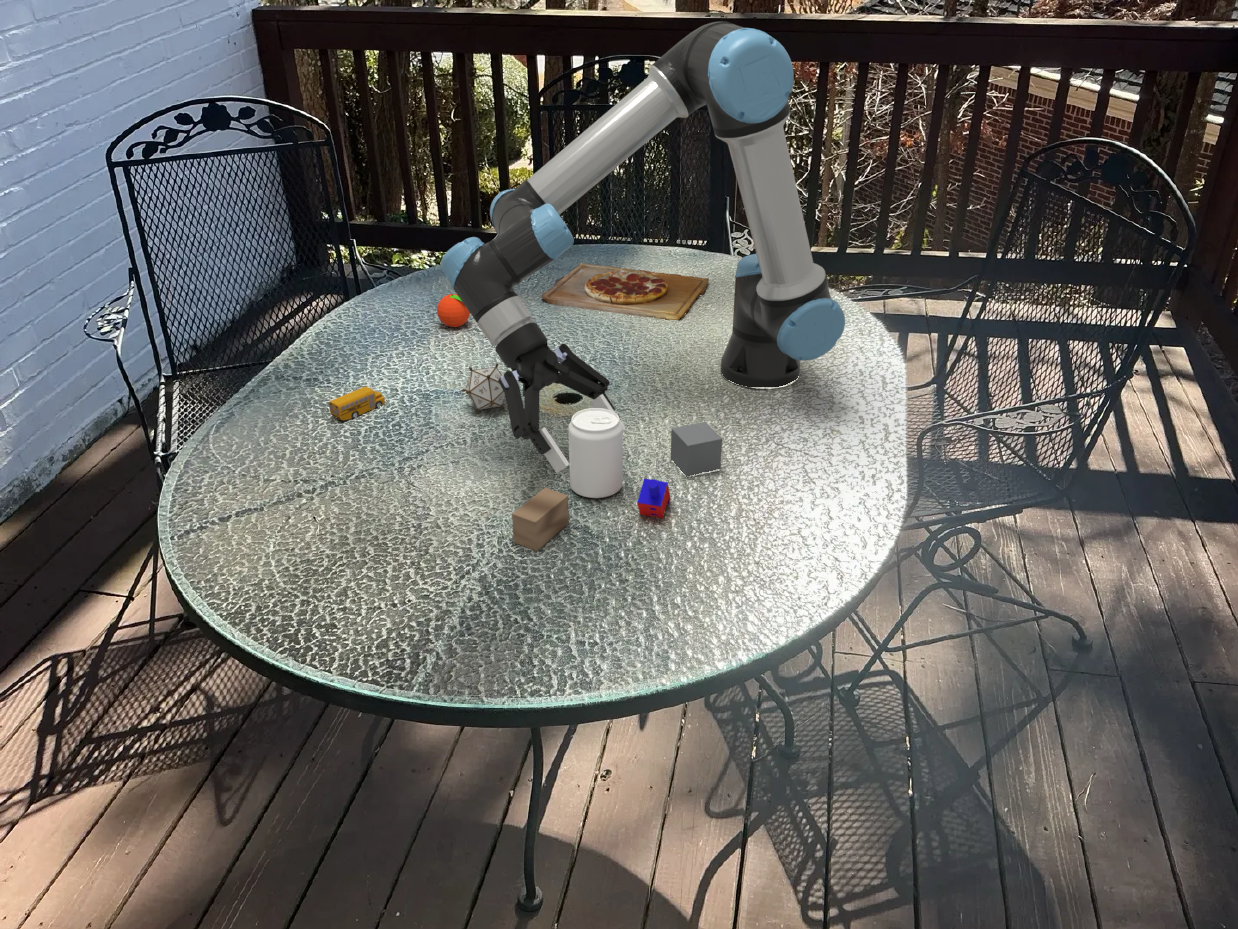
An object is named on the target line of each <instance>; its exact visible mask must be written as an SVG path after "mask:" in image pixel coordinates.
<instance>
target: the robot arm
mask: <svg viewBox="0 0 1238 929" xmlns="http://www.w3.org/2000/svg"><path fill="white" fill-rule="evenodd" d="M793 67H794V66H793V63H792V60H791V57H790V55H789V54H788V52H787V50H786V49H785V46H783V45H782V44H781V43H780V42H779V41H778V40H777V39H775V38H774V37H772V36H771V35H769V34H768V33H767V32H765V31H762V30H760V29H756V28H750V27H743V26H739V25H737V24H734V23H732V22H730V21H729V22H728V21H714V22H709V23H707V24H704V25H701V26H700V27H698V28H697V29H695V30H693V31H692V32H689V34H687V35H686V36H685V37H683V38H682V39H680V40H679V41H678V42H677V43H676V44H675V45H674V46H672V47H671V48H670V49H668V50H667V51H666V53H664V54H663V55H662V56H661V57H659V58H658V59H656V60H655V62H653V63H652V64H651V65H650V66H649V69H648V76H647V77H646V78H645V79H644V80H643V81H641V83H639V84H638V85H636V87H634V88H633V89H632V90H631V91H630V92H629V93H627V94H626V95H625V96H624V97H623V98H622V99H620V101H618V102H617V103H616V104H615V105H614V106H612V107H611V108H610V109H609V110H607V111H606V112H605V113H604V114H602V116H601V117H600V118H597V120H596V121H594V122H593V124H591V125H590V126H588V128H586V129H585V130H583V132H582V133H580V134H579V135H578V136H577V137H576V138H575V139H574V140H572V141H571V142H570V143H569V144H568V145H566V146H565V147H564V148H563V149H562V150H561V151H559V152H558V153H557V154H556V155H554V156H553V157H552V158H551V159H550V160H549V161H548V162H546V163H545V164H544V165H543V166H542V167H540V169H538V170H537V171H536V172H535V173H533V175H531V176H530V177H529V178H528V179H526V180H525V181H524V182H522V183H521V184H520V185H518V186H517V187H516V188H512V189H506V190H502V191H500V192H499V193H498V194H497V195H495V197H494V198H493V200H492V201H491V204H490V208H489V216H490V219H491V220H490V221H491V222H492V227H493V228H494V231H495V233H496V234H497V237H495V238H494V239H491V240H490V241H488V242H486V243H485V242H483V241H482V240H481V239H480V238H479V237H476V236H472V237H468V238H465V239H464V240H462V241H461V242H457V243H456V244H454V245H453V246H452V247H451V248H449V249H448V250H447V251H446V252H445V254H444V255H443V256H442V258H441V261H440V267H441V270H442V272H443V274H444V276H445V277H446V278H447V280H448V282H449V283H450V286H451V288H452V290H453V291H454V292H455V294H457V295H458V296H459V298H460V299H461V301H462V302H463V304H464V305H465V306H466V308H467V309H468V311H469V312H470V316H472V318H473V319H474V321H475V322H476V324H477V325H478V327H479V328H480V330H481V332H482V334H484V336H485V338H486V339H487V340H488V342H489V343H490V345H493V346H495V353H496V354H497V355H498V357H499V358H500V360H501V361H502V362H503V364H504V366H505V367H506V368H507V369H508V368H509V369H511V370H509V369H508V370H506V371H505V372H504V373H503V374H501V375H502V376H501V377H500V378H499V379H498V382H499V384H500V386H501V387H502V389H503V391H504V394H505V402H506V407H507V411H508V417H509V420H510V421H509V422H510V426H511V430H512V435H513V437H514V438H515V439H520V438H522V439H523V440H525V441H526V440H528V439H529V440H530V442H531V443H532V444H533V446H534V447H535V449H536V450H537V452H538V453H539V454H540V455H541V456H543V455H544V458H546V459H547V461H548V462H549V464H550V465H551V467H552V468H553V471H555V473H556V474H558V473H560V472H561V471H563V470H564V469H565V468H567V467H568V466H570V463H569V460H567V458H566V457H565V454H563V452H562V450H561V449H560V447H559V446H558V445H557V443H556V442H555V441H554V439H553V437H552V435H551V434H550V433H549V431H548V430H547V428H546V427H543V428H540V392H541V390H543V389H544V388H545V387H550V386H551V385H552V384H557V385H559V384H560V385H563V386H564V387H566V388H568V389H571V390H573V391H575V392H577V393H579V394H581V395H584V396H586V397H587V398H589V399H592V401H591V402H590V405H591V408H603V409H608V410H611V411H613V412H616V409H615V406H614V405H613V403H612V402H611V400H610V398H609V397H608V395H607V394H606V392H607V391H608V389H609V388H608V386H610V380H609V379H607V378H606V377H605V376H604V375H602V374H601V373H600V372H598V371H597V370H596V369H595V368H593V367H592V366H591V365H590V364H588V363H586V362H585V361H584V360H583V359H581V358H580V357H579V356H578V355H576V354H575V353H574V352H573V351H572V350H571V348H570V347H569V346H568V345H567V344H566V343H561V344H560V345H559V346H558V347H557V348H556V349H555V350H554V351H553V350H552V349H551V348H550V347H549V345H548V338H547V336H546V335H545V334H544V332H543V331H542V329H541V328H540V326H539V324H538V323H537V322H535V321H533V318H534V317H533V316H532V314H531V312H530V311H529V310H528V308H527V307H526V306H525V304H524V303H523V301H522V300H521V297H519V295H518V294H517V292H516V290H515V289H514V287H515V286H517V285H519V284H520V283H521V282H523V281H524V280H526V279H527V278H529V277H530V276H532V275H534V274H535V273H536V272H538V271H539V270H541V269H542V268H543V267H546V266H547V265H548V264H550V263H552V262H553V261H554V260H558V258H560V257H561V256H562V255H563V254H564V253H565V252H567V251H568V250H569V249H570V248H572V246H573V244H574V241H575V240H574V236H573V235H572V232H571V231H570V229H569V228H568V226H567V224H566V223H565V221H564V220H563V218H562V217H561V214H562V213H563V212H564V211H566V210H567V209H568V208H569V207H570V206H572V205H573V204H574V203H576V202H577V201H578V200H579V199H580V198H582V196H584V195H585V194H586V193H588V192H589V191H590V190H591V189H592V188H594V187H595V186H596V185H597V184H599V183H600V182H601V181H602V180H603V179H604V178H606V177H607V176H608V175H610V173H612V172H613V171H614V170H615V169H616V168H617V167H619V166H620V165H621V164H622V163H623V162H625V161H626V160H627V159H628V158H629V157H631V156H632V155H633V154H634V153H636V152H637V151H638V150H640V148H642V147H643V146H644V145H645V144H647V143H648V142H649V141H650V140H651V139H652V138H654V137H655V136H656V135H657V134H658V133H660V132H661V131H663V129H664V128H666V127H667V126H668V125H670V124H671V123H672V122H673V121H674V120H675V119H676V118H681V119H682V118H684V119H687V118H688V117H689V116H690V115H692V114H693V113H694V112H695V111H697V110H698V109H700V108H701V107H704V106H707V110H708V113H709V117H710V120H711V121H710V122H711V124H712V128H713V132H714V136H715V137H716V138H717V139H719V140H721V141H722V142H724V143H726V144H727V146H728V150H729V153H730V158H731V161H732V164H733V166H732V167H733V168H734V173H735V177H736V180H737V185H738V188H739V193H740V196H741V199H742V203H743V207H744V210H745V212H744V213H745V215H746V218H747V224H748V227H749V230H750V234H751V239H752V242H753V246H754V250H755V253H753V254H748V255H745V256H743V257H741V258H740V259H739V260H738V262H737V265H736V269H735V270H736V271H735V274H734V278H735V282H734V296H733V298H734V299H733V315H732V316H733V317H732V327H731V328H732V330H731V332H732V333H731V335H730V337H729V340H728V343H727V345H726V346H725V349H724V352H723V354H722V356H721V361H720V374H721V375H722V374H723V376H724V377H725V378H726V379H727V380H726V379H725V378H724V377H723V376H722V377H723V378H724V379H725V380H726V381H728V380H730V381H732V382H734V383H736V384H739V385H743V386H747V387H779V386H783V385H786V384H788V383H790V382H792V381H794V380H796V379H797V378H798V376H799V377H800V375H799V374H800V373H801V361H803V362H806V361H808V362H809V361H813V360H815V359H818V358H820V357H823V356H825V355H826V354H828V353H829V352H830V351H831V350H832V349H833V348H835V346H836V345H837V342H838V340H839V339H841V338H842V335H843V333H844V331H845V326H846V319H845V318H846V317H845V316H846V315H845V312H844V310H843V308H842V307H841V305H840V304H839V303H838V302H837V301H836V300H835V299H833V298H832V296H831V293H830V288H829V284H828V283H829V282H828V280H827V275H826V270H825V269H824V268H823V266H821V265H819V264H817V263H814V260H813V255H812V251H811V247H810V246H811V245H810V241H809V238H808V233H807V228H806V224H805V220H804V215H803V210H802V206H801V202H800V198H799V192H798V188H797V182H796V178H795V175H794V170H793V165H792V161H791V160H792V159H791V157H790V152H789V148H788V143H787V139H786V134H785V129H784V125H785V123H786V122H787V121H788V119H789V117H790V115H791V108H790V104H789V97H790V94H791V93H792V91H793V88H794V87H793V86H794V80H795V79H794V76H795V75H794V73H795V72H794V68H793ZM798 379H799V378H798ZM519 383H521V384H522V393H521V388H520V385H519ZM736 384H735V385H736ZM739 385H738V386H739ZM522 396H523V397H524V398H523V397H522ZM523 399H524V401H523ZM619 420H620V422H621V423H622V427H623V431H625V430H626V426H625V425H624V423H623V422H622V421H621V419H620V418H619Z"/></svg>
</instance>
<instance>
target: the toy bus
mask: <svg viewBox="0 0 1238 929" xmlns="http://www.w3.org/2000/svg"><path fill="white" fill-rule="evenodd" d="M384 404H386V398H385V396H384V395H383V394H382V393H381V392H379V391H377V390H376V391H374V389H373V388H370V387H369V386H362V387H360V388H358V389H355V390H353V391H351V392H348V393H345V394H343V395H341V396H339V397H336V398H334V399H332V400H330V401H328V406H329V412H330V415H331V416H332V417H334V418H336V419H338V420H339V421H347V420H348V421H349V420H351V419H353V418H354V419H356V418H355V417H357V418H358V417H359V416H361V415H363V414H365V413H367V412H370V411H373V410H374V409H379V408H381V407H382V406H383V405H384ZM380 406H381V407H380ZM378 407H379V408H378Z"/></svg>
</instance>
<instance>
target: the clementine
mask: <svg viewBox="0 0 1238 929" xmlns="http://www.w3.org/2000/svg"><path fill="white" fill-rule="evenodd" d="M436 307H437V308H436V312H437V313H436V314H437V317H438V318H439V321H440V322H442V324H444V325H445V326H447V327H449V328H458V327H462V326H463V325H465V324H466V322H467V321H468V320H469V318H470V316H471V314H470V312H469V311H468V309H467V308H466V306H465V305H464V304H463V302H462V301H461V299H460V298H459V296H458V295H457V293H450V294H447V295H445V296H443V297H442V298H441V299H440V300H439V302H438V304H437V306H436Z"/></svg>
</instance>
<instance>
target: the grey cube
mask: <svg viewBox="0 0 1238 929" xmlns="http://www.w3.org/2000/svg"><path fill="white" fill-rule="evenodd" d="M670 431H671V434H670V458H671V460H673V461H674V463H675V464H676V466H678V467H679V468H680V470H681V471H682V472H683V473H684V474H685V475H686V477H687V476H690V475H694V474H695V475H696V474H699V473H702V472H709V471H713V470H716V469H720V470H721V466H722V465H721V464H722V450H723V437H721V436H720V435H719V434H718V433H717V432H716V431H715V430H714V429H713V428H712V427H711V426H710V424H708V422H706V421H701V422H697V423H692V424H688V425H686V424H685V425H682V426H681V425H680V426H677V427H672V428H671V430H670ZM671 460H670V461H671ZM676 466H675V467H676ZM686 477H685V478H686Z"/></svg>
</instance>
